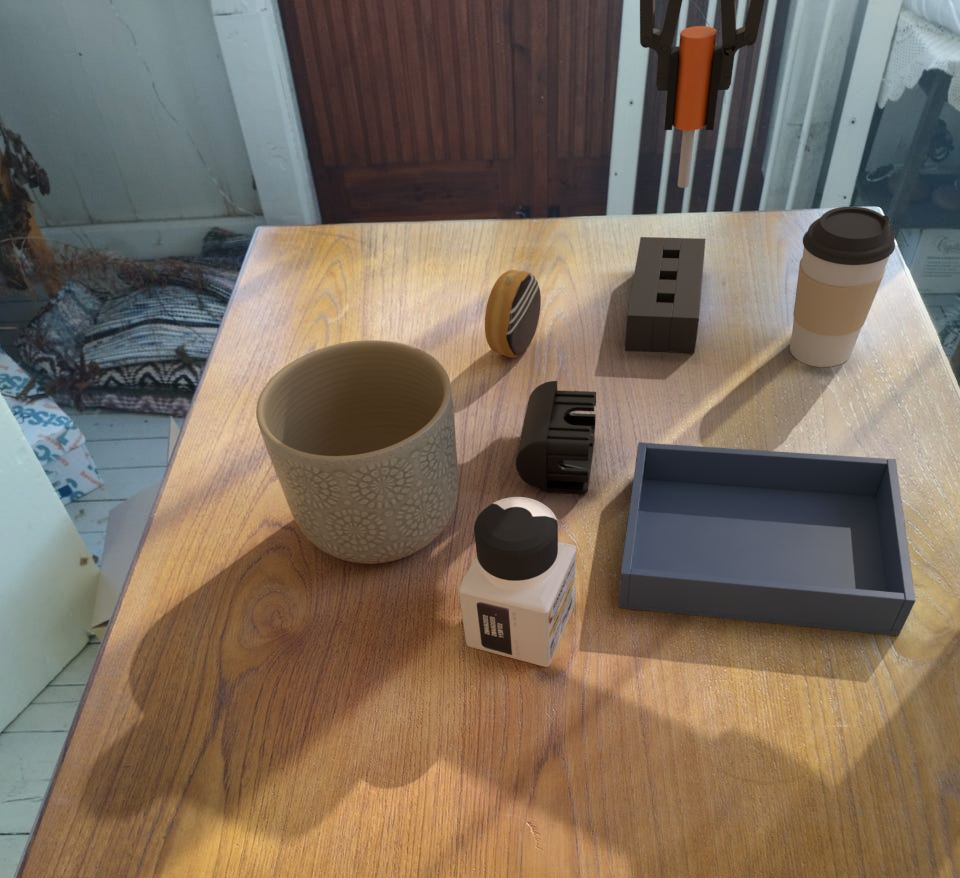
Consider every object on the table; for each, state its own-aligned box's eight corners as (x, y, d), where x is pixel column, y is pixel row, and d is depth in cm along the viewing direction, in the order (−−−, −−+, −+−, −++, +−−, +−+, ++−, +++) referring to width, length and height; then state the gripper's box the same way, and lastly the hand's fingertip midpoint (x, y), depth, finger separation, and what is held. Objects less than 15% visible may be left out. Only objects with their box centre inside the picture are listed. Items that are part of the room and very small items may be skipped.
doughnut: (511, 375, 101) (506, 294, 93) (483, 368, 102) (476, 288, 94) (545, 332, 106) (543, 252, 98) (517, 326, 107) (513, 247, 99)
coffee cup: (775, 367, 98) (804, 236, 86) (783, 323, 103) (811, 194, 91) (860, 376, 96) (902, 243, 84) (863, 331, 101) (903, 200, 89)
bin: (882, 495, 84) (896, 458, 80) (899, 636, 73) (916, 601, 70) (635, 477, 88) (638, 442, 85) (618, 607, 78) (620, 573, 74)
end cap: (529, 432, 94) (527, 378, 89) (595, 434, 93) (597, 380, 88) (516, 494, 88) (513, 441, 83) (587, 498, 87) (588, 444, 82)
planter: (499, 502, 87) (489, 371, 75) (397, 613, 79) (367, 484, 67) (369, 449, 94) (341, 321, 82) (262, 546, 86) (214, 419, 74)
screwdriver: (700, 178, 94) (717, 25, 83) (698, 193, 92) (716, 38, 81) (668, 178, 95) (681, 26, 84) (666, 192, 93) (679, 38, 82)
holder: (701, 272, 111) (705, 238, 108) (694, 353, 101) (699, 318, 97) (638, 270, 113) (640, 236, 109) (624, 350, 102) (627, 315, 99)
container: (548, 669, 74) (546, 564, 64) (465, 647, 76) (449, 542, 66) (576, 604, 78) (578, 495, 68) (496, 584, 80) (486, 477, 70)
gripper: (613, -174, 70) (604, 140, 88) (829, -188, 66) (773, 140, 85) (623, -192, 74) (612, 110, 92) (825, -207, 71) (773, 109, 89)
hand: (689, 124), depth 88 cm, fingers closed on screwdriver, 3 cm apart
